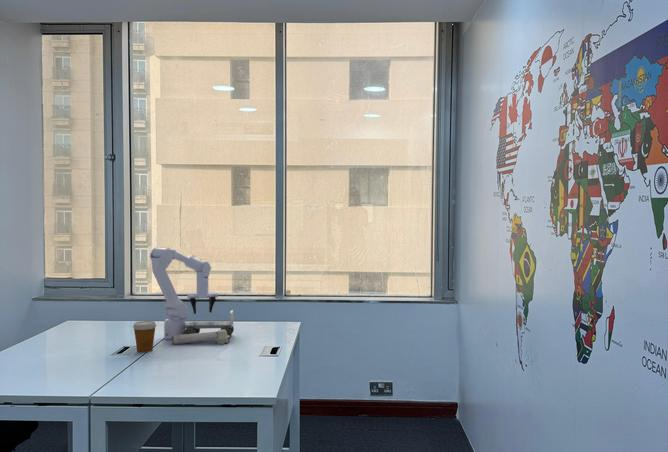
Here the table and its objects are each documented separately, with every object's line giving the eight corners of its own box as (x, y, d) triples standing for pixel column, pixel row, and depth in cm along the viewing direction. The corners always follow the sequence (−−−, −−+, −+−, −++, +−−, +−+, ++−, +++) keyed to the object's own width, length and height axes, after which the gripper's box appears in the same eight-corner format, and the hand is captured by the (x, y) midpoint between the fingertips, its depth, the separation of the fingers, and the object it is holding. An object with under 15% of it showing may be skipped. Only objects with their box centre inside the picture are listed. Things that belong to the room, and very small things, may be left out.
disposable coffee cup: (149, 354, 237) (149, 325, 237) (128, 352, 239) (128, 324, 238) (160, 348, 246) (160, 321, 246) (140, 347, 248) (140, 320, 248)
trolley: (182, 341, 259) (182, 314, 259) (187, 335, 272) (187, 309, 271) (231, 341, 261) (231, 313, 261) (233, 335, 274) (233, 309, 273)
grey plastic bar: (173, 334, 258) (228, 325, 260) (175, 349, 258) (230, 340, 260) (171, 337, 252) (227, 328, 255) (173, 351, 253) (229, 342, 255)
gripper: (189, 287, 274) (189, 315, 274) (219, 285, 280) (219, 313, 280) (186, 285, 280) (186, 313, 280) (215, 284, 286) (215, 310, 287)
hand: (202, 312), depth 281 cm, fingers open, 7 cm apart
